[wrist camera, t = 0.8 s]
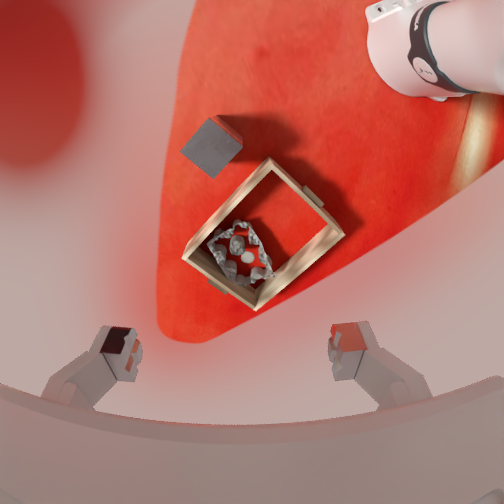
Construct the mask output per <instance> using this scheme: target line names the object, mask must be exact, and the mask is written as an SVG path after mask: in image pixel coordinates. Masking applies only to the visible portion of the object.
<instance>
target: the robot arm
mask: <svg viewBox="0 0 504 504" xmlns="http://www.w3.org/2000/svg"><path fill="white" fill-rule="evenodd" d="M378 8H379V9H380V10H381V12H379V11H378ZM365 14H366V18H367V21H368V24H369V31H368V38H367V46H368V52H369V56H370V59H371V62H372V64H373V66H374V68H375V70H376V71H377V73H378V74H379V76H380V77H381V78H382V79H383V80H384V81H385V82H386V83H387V84H388V85H389V86H390V87H392V88H393V89H394V90H396V91H398V92H400V93H402V94H405V95H408V96H414V97H421V96H425V97H429V98H431V99H433V100H435V101H439V102H441V101H445V100H446V99H447V97H460V96H464V95H465V94H476V93H480V92H486V93H493V94H499V95H504V0H383V1H380V2H378V3H375V4H373V5H370V6H368V7H367V8H366V10H365ZM331 335H332V336H331V337H330V338H329V342H328V355H329V360H330V361H331V362H332V363H333V366H332V371H333V375H334V379H335V381H339V380H349V379H354V380H355V381H356V382H357V383H358V384H359V385H360V386H361V387H362V388H363V389H364V390H365V391H366V392H367V393H368V394H369V395H370V396H371V397H372V398H373V399H374V400H375V401H376V402H377V403H378V404H379V407H378V408H377V410H376V411H374V412H369V413H364V414H358V415H352V416H345V417H339V418H331V419H324V420H315V421H306V422H295V423H280V424H260V425H211V424H190V423H176V422H165V421H156V420H147V419H140V418H133V417H125V416H120V415H114V414H108V413H103V412H98V411H95V409H94V408H93V406H94V405H95V404H96V403H97V402H98V401H99V400H100V399H101V398H102V397H103V396H104V395H105V393H107V392H108V391H109V390H110V389H111V388H112V387H113V386H114V384H115V383H116V382H117V381H127V382H135V379H136V376H137V373H138V369H137V367H136V366H137V365H138V364H139V363H140V362H141V360H142V345H141V343H140V341H138V340H137V339H136V337H137V332H136V330H135V329H134V328H126V327H116V326H113V327H112V326H102V327H101V328H100V330H99V332H98V334H97V336H96V338H95V340H94V342H93V344H92V346H91V348H90V350H89V352H88V351H86V352H84V353H83V354H82V355H80V356H79V357H77V358H76V359H75V360H73V361H72V362H70V363H69V364H68V365H66V366H65V367H63V368H62V369H61V370H59V371H58V372H57V373H55V374H54V375H52V376H51V377H50V378H49V380H48V383H47V384H46V387H45V389H44V391H43V393H42V395H41V397H38V396H35V395H32V394H29V393H26V392H23V391H19V390H17V389H14V388H11V387H9V386H6V385H3V384H1V383H0V504H504V378H502V377H500V376H492V377H489V378H487V379H484V380H482V381H479V382H477V383H474V384H471V385H468V386H466V387H463V388H460V389H457V390H454V391H451V392H448V393H445V394H441V395H438V396H435V397H433V396H432V394H431V392H430V390H429V387H428V385H427V383H426V381H425V379H424V377H423V375H422V374H420V373H419V372H417V371H416V370H414V369H413V368H412V367H410V366H409V365H407V364H406V363H404V362H403V361H401V360H400V359H399V358H397V357H396V356H394V355H393V354H391V353H390V352H388V351H387V350H386V349H384V348H380V347H379V345H378V342H377V340H376V338H375V335H374V333H373V331H372V329H371V327H370V324H369V322H368V321H361V322H352V323H342V324H333V325H332V327H331Z"/></svg>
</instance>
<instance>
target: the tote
mask: <svg viewBox="0 0 504 504" xmlns="http://www.w3.org/2000/svg"><path fill="white" fill-rule="evenodd" d="M271 170H273V171H274V172H275V173H276V174H277V175H278V176H279V177H280V178H281V179H283V180H284V181H285V182H286V183H287V184H288V185H289V186H290V187H291V188H292V189H293V190H294V191H295V192H296V193H297V194H298V195H300V196H301V197H302V198H303V199H304V200H305V201H306V202H307V203H308V204H309V205H310V206H311V207H312V208H313V209H314V210H315V211H316V212H317V213H318V214H319V215H320V216H321V217H322V218H323V219H324V220H325V221H326V222H327V223H328V225H327V226H325V227H324V228H323V229H322V230H321V231H320V232H319V233H318V234H317V235H316V236H314V237H313V238H312V239H311V240H310V241H309V242H308V243H307V244H306V245H304V246H303V247H302V248H301V249H300V250H299V251H298V252H297V253H296V254H294V255H293V256H292V257H291V258H290V259H289V260H288V261H287V262H285V263H284V264H283V265H282V266H281V267H280V268H279V269H277V270H276V271H275V272H274V275H275V277H270V278H267V279H266V280H265V281H264V282H263V283H262V284H260V285H259V286H258V287H257V288H256V289H254V288H253V287H251V286H250V285H249V284H248V285H247V286H245V287H241V286H238V285H236V284H235V283H233V282H231V281H230V280H228V279H227V277H226V275H225V273H224V272H223V270H222V269H221V267H220V266H219V264H218V263H217V260H215V259H214V258H213V257H211V256H210V255H209V254H207V253H206V252H205V251H203V250H202V249H201V248H199V247H198V246H199V245H200V244H201V243H202V242H203V240H204V239H205V238H206V237H207V236H208V235H209V234H210V233H211V232H212V231H213V230H214V229H215V228H216V227H217V225H218V224H219V223H220V222H221V221H222V220H223V219H224V218H225V217H226V216H227V215H228V214H229V213H230V212H231V211H232V210H233V209H234V208H235V206H236V205H237V204H238V203H239V202H240V201H241V200H242V199H243V198H244V197H245V196H246V195H247V194H248V193H249V192H250V191H251V190H252V189H253V188H254V187H255V186H256V185H257V184H258V183H259V182H260V181H261V180H262V179H263V178H264V177H265V176H266V175H267V174H268V173H269V172H270V171H271ZM323 205H324V203H323V202H322V201H321V200H320V199H319V198H318V197H317V196H316V195H315V194H314V193H313V192H312V191H311V190H310V189H309V188H308V187H307V186H306V185H305V186H304V187H302V186H301V185H300V184H299V183H298V182H297V181H296V180H294V179H293V178H292V177H291V176H290V175H289V174H288V173H287V172H286V171H285V170H284V169H283V168H282V167H281V166H280V165H278V164H277V163H276V162H275V161H274V160H273V159H272V158H271V157H270V156H268V157H267V158H266V159H265V160H264V161H263V162H262V163H261V164H260V165H259V166H258V168H257V169H256V170H255V171H254V172H253V173H252V174H251V175H250V176H249V177H248V178H247V179H246V180H245V181H244V182H243V183H242V184H241V185H240V186H239V187H238V188H237V189H236V190H235V192H234V193H233V194H232V195H231V196H230V197H229V198H228V199H227V200H226V201H225V202H224V203H223V204H222V205H221V206H220V208H219V209H218V210H217V211H216V212H215V213H214V214H213V215H212V216H211V217H210V218H209V220H208V221H207V222H206V223H205V224H204V225H203V226H202V227H201V228H200V229H199V231H198V232H197V233H196V234H195V235H194V236H193V237H192V238H191V239H190V241H189V242H188V243H187V246H186V248H185V251H184V254H183V256H182V259H183V260H185V261H186V262H187V263H189V264H190V265H191V266H193V267H194V268H196V269H197V270H198V271H200V272H201V273H202V274H204V275H205V276H207V277H208V278H209V280H208V283H210V284H211V285H212V286H214V287H215V288H217V289H218V290H220V291H221V292H222V293H224V294H225V295H226V294H227V293H228V292H229V293H230V294H232V295H233V296H235V297H236V298H237V299H239V300H240V301H242V302H243V303H245V304H246V305H248V306H249V307H250V308H252V309H253V310H255V311H257V310H258V309H259V308H260V307H262V306H263V305H264V304H265V303H266V302H268V301H269V300H270V299H271V298H272V297H274V296H275V295H276V294H277V293H278V292H280V291H281V290H282V289H283V288H284V287H286V286H287V285H288V284H289V283H290V282H292V281H293V280H294V279H295V278H296V277H297V276H299V275H300V274H301V273H302V272H303V271H305V270H306V269H307V268H308V267H309V266H310V265H311V264H313V263H314V262H315V261H316V260H317V259H318V258H320V257H321V256H322V255H323V254H324V253H325V252H326V251H328V250H329V249H330V248H331V247H332V246H333V245H334V244H336V243H337V242H338V241H339V240H340V239H341V238H342V237H343V236H344V235H345V234H344V232H343V231H342V229H341V228H340V226H339V224H338V223H337V221H336V220H335V219H334V218H333V217H332V216H331V215H330V214H329V213H328V212H327V211H326V210H325V209H324V208H323V207H322V206H323Z"/></svg>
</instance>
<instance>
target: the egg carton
mask: <svg viewBox="0 0 504 504" xmlns="http://www.w3.org/2000/svg"><path fill="white" fill-rule="evenodd" d="M238 224H239V225H240V226H241V227H242V228H247V227H249V228H250V229H249V243H250V244H255V245H260V246H259V258H260V262H262V263H263V264H265V266H266V269H262V268H261V267H254V268H252V269H251V275H250V276H248V277H245V276H244V275H236V274H237V264H236V262H235V261H233V260H226V251H227V250H226V247H225V246H224V245H222V244H215V243H214V241H216V240H218V238H219V237H220V238H231V237H232V234H233V231H234V230H235V225H238ZM207 246H208V248H209V249H210V251H211V252H212V253H213V255H214V257H215V258H216V260H217V263H218V264H219V266H220V267H221V269H222V270H223V272H224V273H225V275H226V277H227V279H228V280H230V281H231V282H233V283H235V284H236V285H238V286H241V287H245V286H247V285H248V284H251V283H255V282H256V280H258V279H261V278H263V279H267V278H270V277H275V275H274V272H273V271H272V268H271V265H272V260H271V258H270V256H269V255H266V253H265V251H264V248H263V245H262V242H261V241H260V240H259V238H258V237H257V235H256V234H255V232H254V231H253V230H252V226H251V224H250V222H245V221H244V222H243V221H241V220H240V219H237V220H235V221H233V229H228V230H227V231H224V230H222V229H221V228H219V229H217V230H215V234H214V237H213V238H212V239H211V240H210V241H209V242H208V243H207ZM230 252H231V254H234V255H241V254H242V255H241V260H242V261H243V262H244V263H251V262H253V260H254V254H253V253H252V252H249V251H246V252H245V242H244V238H243V237H242V236H240V235H235V236H233V237H232V238H231V240H230Z"/></svg>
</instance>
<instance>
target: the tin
mask: <svg viewBox="0 0 504 504" xmlns="http://www.w3.org/2000/svg"><path fill="white" fill-rule="evenodd" d="M242 148H243V137H242V136H241V135H240V134H239V133H237V132H236V131H235V130H234V129H233V128H232V127H230V126H229V125H228V124H227V123H226V122H224V121H223V120H222V119H221V118H220V117H218V116H217V115H216V116H214V117H211V118H208V119H207V120H206V122H205V123H204V124H203V125H202V126H201V127H200V128H199V130H198V131H197V132H196V133H195V134H194V135H193V137H192V138H191V139H190V140H189V141H188V142H187V144H186V145H185V146H184V147H183V148H182V150H181V151H180V152H181V153H182V154H183V155H185V156H186V157H187V158H188V159H189V160H191V161H192V162H193V163H194V164H196V165H197V166H198V167H199V168H201V169H202V170H203V171H204V172H205V173H207V174H208V175H209V176H210V177H211V178H213V179H214V178H215V177H216V176H217V175H218V174H219V172H220V171H221V170H222V169H223V168H224V167H225V166H226V165H227V164H228V163H229V162H230V160H231V159H232V158H233V157H234V156H235V155H236V154H237V153H238V152H239V151H240V150H241V149H242Z"/></svg>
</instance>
